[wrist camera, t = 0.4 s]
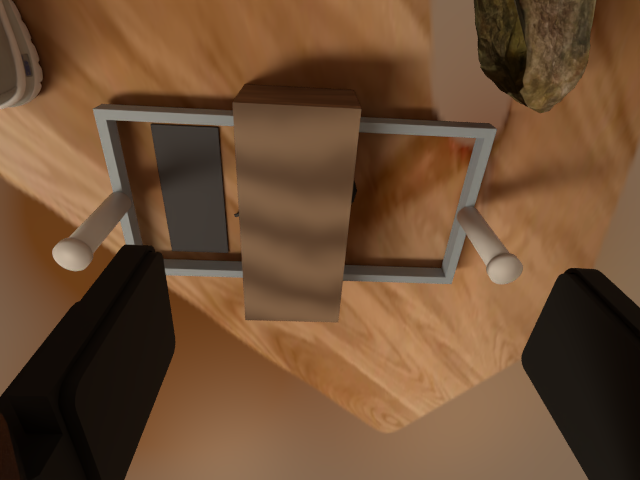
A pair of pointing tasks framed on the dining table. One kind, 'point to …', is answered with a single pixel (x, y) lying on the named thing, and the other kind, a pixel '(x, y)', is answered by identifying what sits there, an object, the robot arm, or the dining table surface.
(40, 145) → the dining table surface
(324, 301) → the tunnel
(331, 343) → the dining table surface
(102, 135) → the gray frame
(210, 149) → the dark grey flat slab
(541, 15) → the rock
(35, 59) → the sneaker
